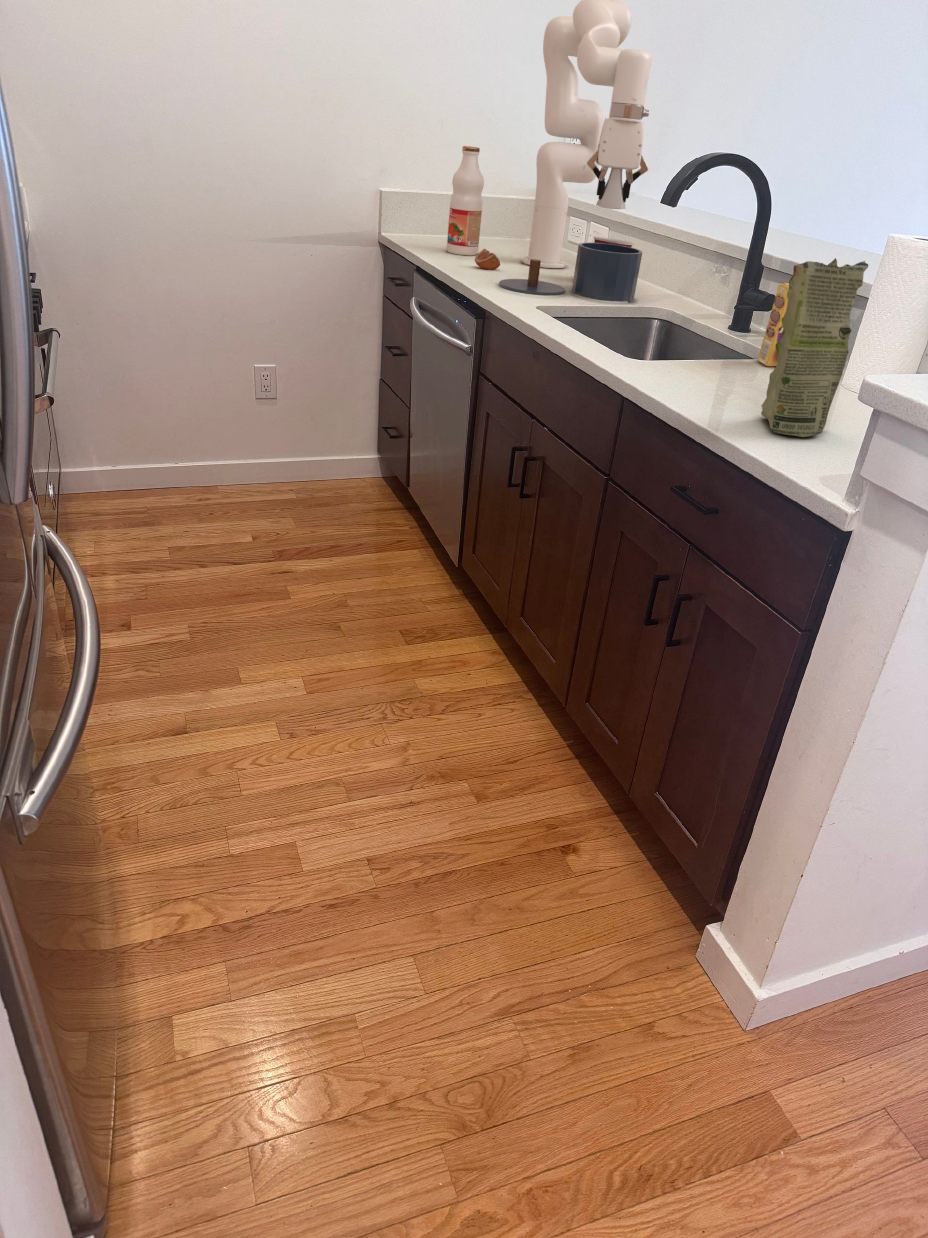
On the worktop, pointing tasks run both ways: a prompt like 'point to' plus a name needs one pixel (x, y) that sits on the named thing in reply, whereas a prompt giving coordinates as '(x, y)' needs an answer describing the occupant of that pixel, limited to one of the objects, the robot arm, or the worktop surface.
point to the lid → (532, 283)
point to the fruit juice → (466, 205)
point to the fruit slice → (487, 260)
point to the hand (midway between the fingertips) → (611, 199)
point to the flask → (613, 191)
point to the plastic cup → (612, 241)
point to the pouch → (812, 346)
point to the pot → (606, 272)
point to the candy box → (774, 327)
